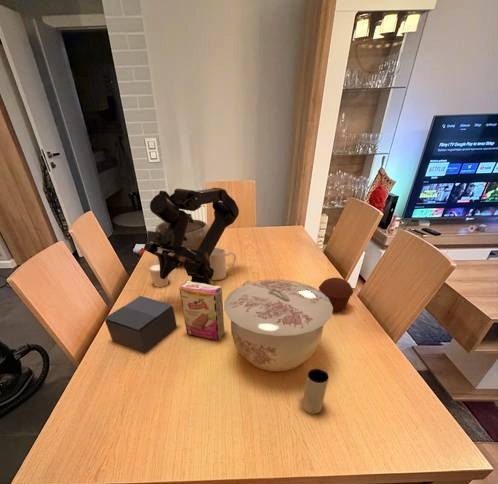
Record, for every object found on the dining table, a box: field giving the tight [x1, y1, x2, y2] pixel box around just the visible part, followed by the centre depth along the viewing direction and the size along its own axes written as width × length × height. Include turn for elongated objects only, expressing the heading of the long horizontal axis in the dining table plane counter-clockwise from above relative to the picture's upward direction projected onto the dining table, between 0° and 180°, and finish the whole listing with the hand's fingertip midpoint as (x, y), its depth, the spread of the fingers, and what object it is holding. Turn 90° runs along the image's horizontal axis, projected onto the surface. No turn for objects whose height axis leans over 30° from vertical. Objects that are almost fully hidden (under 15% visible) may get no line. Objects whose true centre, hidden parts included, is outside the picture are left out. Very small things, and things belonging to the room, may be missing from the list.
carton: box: [103, 306, 178, 354], centre depth 92 cm, size 15×13×8 cm
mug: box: [210, 247, 237, 281], centre depth 123 cm, size 12×8×10 cm, turn 98°
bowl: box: [154, 218, 210, 263], centre depth 135 cm, size 24×24×15 cm
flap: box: [123, 295, 173, 318], centre depth 92 cm, size 7×13×1 cm, turn 63°
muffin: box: [318, 277, 354, 314], centre depth 103 cm, size 12×11×10 cm
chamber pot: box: [223, 279, 333, 372], centre depth 80 cm, size 28×28×21 cm
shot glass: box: [148, 263, 169, 288], centre depth 118 cm, size 7×7×7 cm
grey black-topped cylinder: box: [301, 368, 330, 415], centre depth 68 cm, size 4×4×10 cm
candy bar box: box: [178, 280, 225, 342], centre depth 89 cm, size 11×5×16 cm, turn 71°
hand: (162, 278), depth 94 cm, fingers closed
